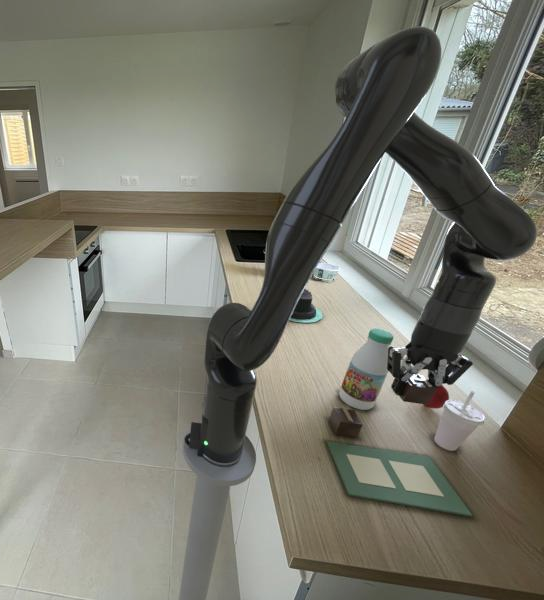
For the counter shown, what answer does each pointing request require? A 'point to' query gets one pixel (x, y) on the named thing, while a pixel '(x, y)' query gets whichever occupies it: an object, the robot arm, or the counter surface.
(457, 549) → the counter surface
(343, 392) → the milk bottle
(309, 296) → the chocolate cake
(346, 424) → the tile
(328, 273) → the food container
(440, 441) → the smoothie
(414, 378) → the tile
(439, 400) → the onion
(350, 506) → the counter surface
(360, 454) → the word mat
